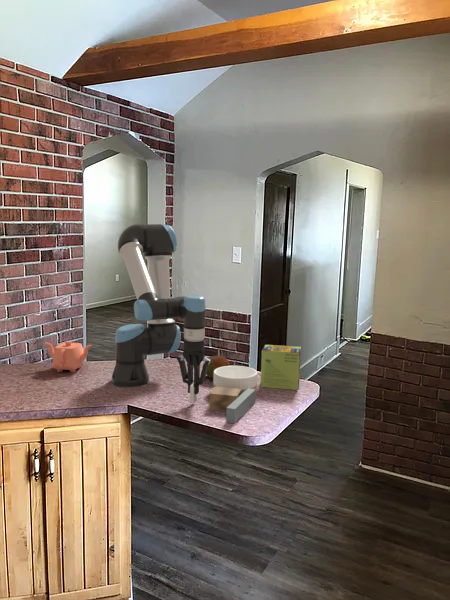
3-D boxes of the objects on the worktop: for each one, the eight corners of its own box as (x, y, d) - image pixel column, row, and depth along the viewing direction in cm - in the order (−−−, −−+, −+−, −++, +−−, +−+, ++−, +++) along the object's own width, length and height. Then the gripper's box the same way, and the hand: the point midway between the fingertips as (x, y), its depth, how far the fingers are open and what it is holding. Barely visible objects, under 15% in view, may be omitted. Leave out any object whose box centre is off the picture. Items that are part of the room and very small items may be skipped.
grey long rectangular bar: (226, 421, 173) (226, 407, 172) (247, 401, 193) (247, 388, 193) (234, 423, 172) (235, 409, 171) (255, 402, 192) (255, 389, 191)
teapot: (45, 367, 231) (44, 340, 229) (81, 362, 240) (80, 335, 238) (56, 376, 219) (55, 347, 217) (93, 370, 228) (93, 342, 226)
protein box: (298, 390, 207) (299, 352, 204) (260, 387, 210) (261, 350, 207) (299, 382, 217) (301, 346, 214) (263, 379, 220) (264, 344, 217)
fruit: (220, 384, 212) (220, 360, 211) (195, 378, 219) (195, 356, 217) (234, 377, 222) (235, 354, 221) (210, 372, 229) (210, 350, 227)
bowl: (265, 392, 204) (266, 372, 202) (235, 402, 192) (236, 381, 190) (234, 382, 216) (234, 363, 214) (204, 391, 203) (204, 371, 202)
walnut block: (209, 409, 185) (209, 393, 184) (215, 401, 192) (215, 386, 191) (236, 412, 182) (236, 396, 181) (241, 404, 190) (241, 389, 189)
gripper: (173, 339, 183) (172, 402, 187) (206, 343, 179) (205, 408, 183) (182, 334, 190) (181, 396, 194) (214, 338, 186) (213, 401, 190)
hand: (193, 401), depth 189 cm, fingers closed
